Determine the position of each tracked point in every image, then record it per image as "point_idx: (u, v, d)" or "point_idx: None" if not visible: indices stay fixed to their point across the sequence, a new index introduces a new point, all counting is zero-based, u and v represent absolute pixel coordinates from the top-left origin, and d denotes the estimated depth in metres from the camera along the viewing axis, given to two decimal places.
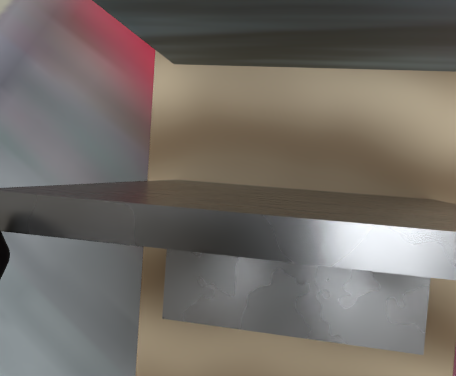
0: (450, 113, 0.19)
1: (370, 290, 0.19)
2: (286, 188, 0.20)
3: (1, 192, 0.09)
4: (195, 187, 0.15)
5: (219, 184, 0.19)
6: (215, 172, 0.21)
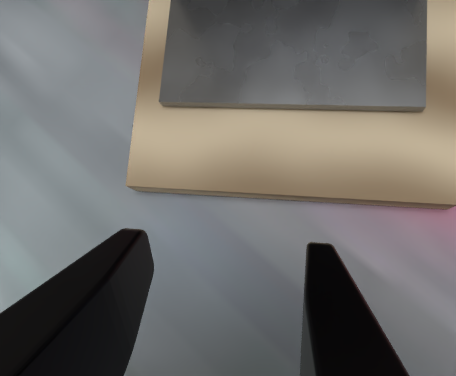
0: None
1: (368, 51, 0.20)
2: None
3: None
4: None
5: None
6: None
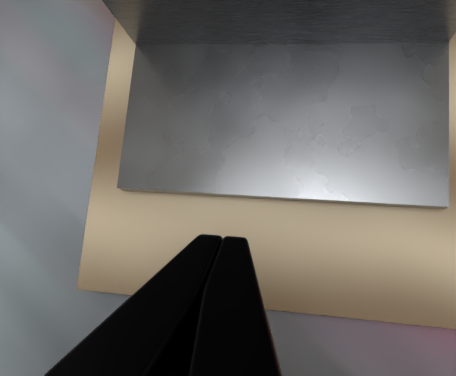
0: None
1: (375, 131, 0.16)
2: None
3: None
4: None
5: None
6: None
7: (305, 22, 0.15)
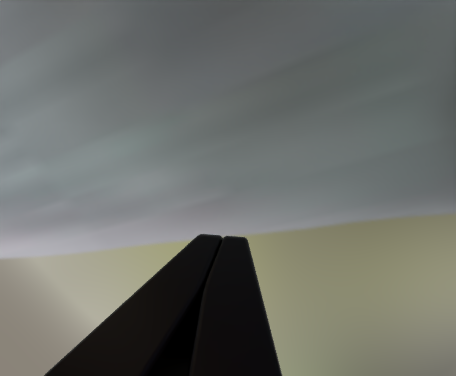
0: None
1: None
2: None
3: None
4: None
5: None
6: None
7: None
